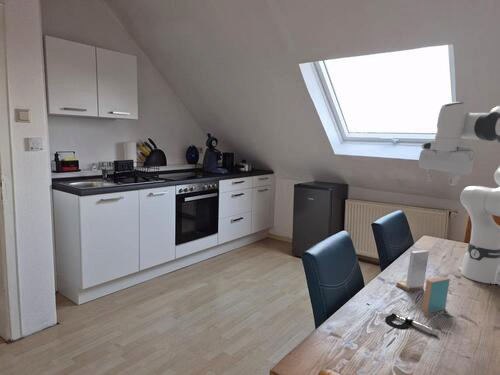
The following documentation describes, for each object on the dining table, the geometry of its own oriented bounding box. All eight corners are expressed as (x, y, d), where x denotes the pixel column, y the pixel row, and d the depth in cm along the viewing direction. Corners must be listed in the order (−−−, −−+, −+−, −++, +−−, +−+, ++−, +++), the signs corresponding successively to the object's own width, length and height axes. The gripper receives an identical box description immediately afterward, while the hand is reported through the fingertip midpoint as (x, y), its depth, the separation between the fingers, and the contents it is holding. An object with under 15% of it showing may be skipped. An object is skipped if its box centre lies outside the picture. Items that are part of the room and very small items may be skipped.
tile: (440, 306, 130) (444, 276, 128) (445, 308, 128) (449, 278, 127) (422, 310, 126) (426, 279, 124) (427, 313, 124) (431, 282, 123)
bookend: (410, 283, 149) (415, 246, 147) (423, 289, 144) (428, 251, 141) (396, 285, 146) (401, 247, 143) (408, 292, 140) (414, 253, 138)
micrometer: (380, 322, 117) (381, 315, 116) (392, 316, 122) (392, 308, 121) (428, 345, 106) (429, 337, 105) (439, 337, 110) (440, 329, 110)
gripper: (480, 148, 129) (473, 187, 131) (429, 144, 147) (424, 179, 149) (468, 148, 126) (462, 187, 128) (418, 144, 144) (413, 179, 146)
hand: (441, 183), depth 139 cm, fingers open, 8 cm apart
